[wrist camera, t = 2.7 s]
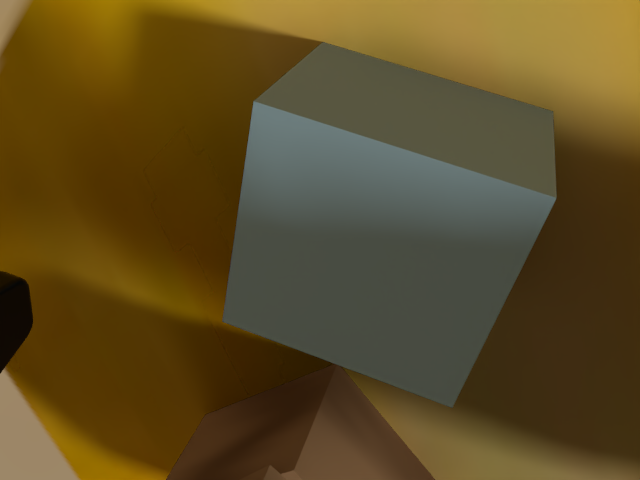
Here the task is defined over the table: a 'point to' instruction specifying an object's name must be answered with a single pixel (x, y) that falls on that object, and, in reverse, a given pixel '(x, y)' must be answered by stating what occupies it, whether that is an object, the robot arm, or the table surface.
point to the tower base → (300, 436)
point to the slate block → (386, 217)
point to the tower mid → (265, 474)
